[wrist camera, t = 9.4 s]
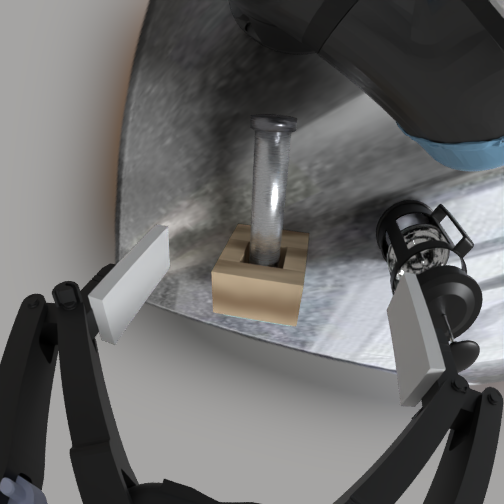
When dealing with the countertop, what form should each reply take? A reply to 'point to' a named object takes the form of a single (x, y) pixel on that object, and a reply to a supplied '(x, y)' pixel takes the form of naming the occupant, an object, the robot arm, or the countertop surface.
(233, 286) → the housing
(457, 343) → the french press
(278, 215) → the shaft
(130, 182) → the countertop surface
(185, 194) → the countertop surface
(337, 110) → the countertop surface
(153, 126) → the countertop surface
